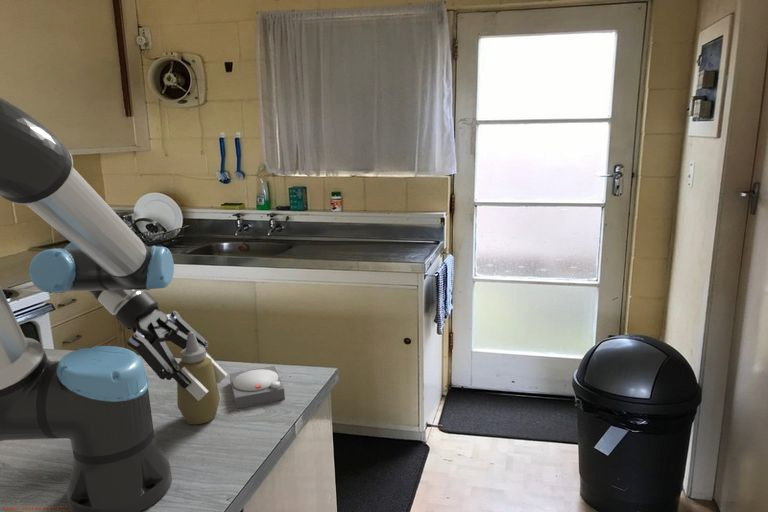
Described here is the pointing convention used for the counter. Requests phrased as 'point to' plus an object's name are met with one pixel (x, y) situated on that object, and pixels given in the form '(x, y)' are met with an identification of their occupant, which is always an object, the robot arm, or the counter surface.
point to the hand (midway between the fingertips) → (213, 387)
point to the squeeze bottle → (204, 373)
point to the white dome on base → (256, 386)
